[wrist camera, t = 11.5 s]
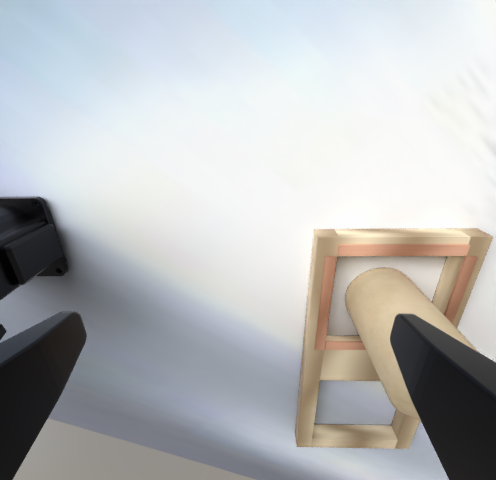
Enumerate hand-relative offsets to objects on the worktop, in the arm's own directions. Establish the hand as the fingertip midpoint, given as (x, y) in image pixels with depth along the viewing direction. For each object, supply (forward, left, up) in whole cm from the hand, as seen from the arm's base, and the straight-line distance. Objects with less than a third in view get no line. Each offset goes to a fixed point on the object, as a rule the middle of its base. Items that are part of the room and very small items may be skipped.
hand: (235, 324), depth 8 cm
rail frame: (+11, -15, -13) cm, 23 cm away
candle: (+11, -8, -13) cm, 19 cm away
